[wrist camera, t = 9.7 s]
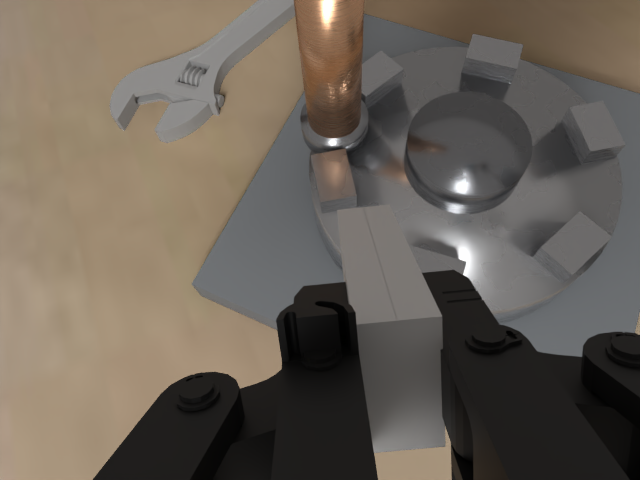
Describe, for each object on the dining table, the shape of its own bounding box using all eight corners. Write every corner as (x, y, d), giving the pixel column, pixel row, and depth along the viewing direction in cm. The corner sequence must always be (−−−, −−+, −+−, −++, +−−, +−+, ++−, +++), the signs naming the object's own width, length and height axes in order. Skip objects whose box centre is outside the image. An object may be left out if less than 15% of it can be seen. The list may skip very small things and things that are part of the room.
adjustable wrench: (357, -64, 43) (357, -85, 42) (415, -27, 41) (417, -48, 40) (106, 110, 37) (95, 93, 35) (160, 164, 35) (150, 149, 33)
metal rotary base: (614, 116, 32) (771, -98, 20) (573, 370, 26) (762, 280, 14) (349, 55, 35) (348, -162, 23) (258, 269, 29) (193, 125, 17)
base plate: (668, 127, 34) (686, 107, 32) (585, 468, 26) (603, 468, 24) (351, 32, 38) (351, 10, 36) (201, 295, 30) (191, 284, 29)
